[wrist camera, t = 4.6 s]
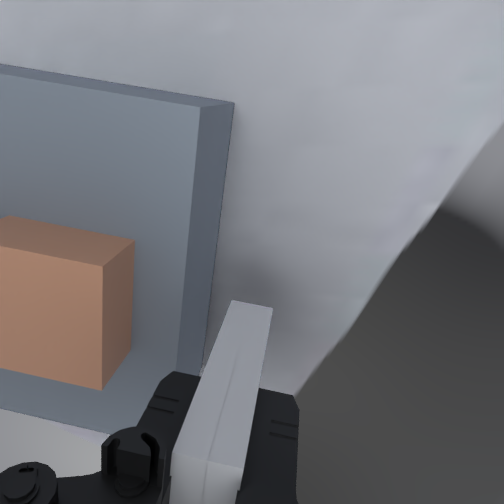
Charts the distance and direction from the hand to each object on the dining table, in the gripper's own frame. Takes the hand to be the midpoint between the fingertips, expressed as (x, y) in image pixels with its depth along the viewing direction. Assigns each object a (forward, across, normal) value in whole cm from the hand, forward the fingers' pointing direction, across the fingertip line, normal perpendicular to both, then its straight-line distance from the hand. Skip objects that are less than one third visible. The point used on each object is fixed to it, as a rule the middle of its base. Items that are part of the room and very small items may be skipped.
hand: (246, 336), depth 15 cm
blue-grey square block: (+7, -10, 0) cm, 12 cm away
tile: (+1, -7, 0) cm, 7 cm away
